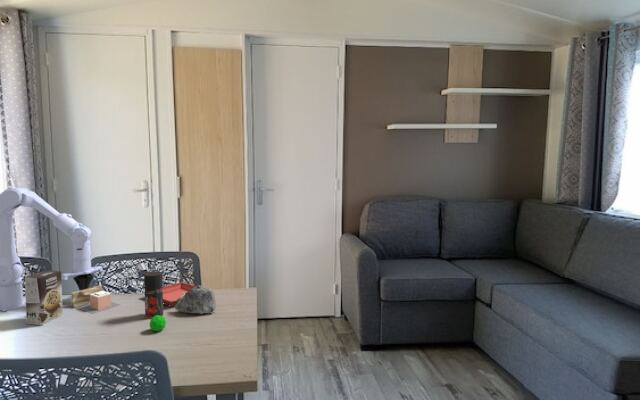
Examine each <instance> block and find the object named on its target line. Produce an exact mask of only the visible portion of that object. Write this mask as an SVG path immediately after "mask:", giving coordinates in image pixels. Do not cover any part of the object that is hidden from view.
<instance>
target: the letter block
mask: <svg viewBox="0 0 640 400" xmlns="http://www.w3.org/2000/svg"><path fill="white" fill-rule="evenodd" d="M111 302H112V292H109V291H105V290H102V291H100V292H96V293H93V294H90V308H93V309H96V310H101V309H104V308H108V307H111Z"/></svg>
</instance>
